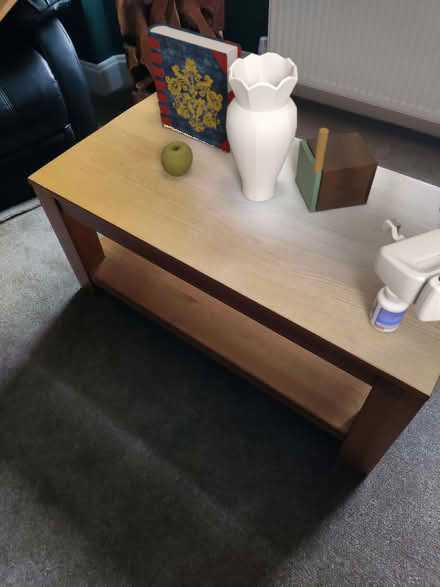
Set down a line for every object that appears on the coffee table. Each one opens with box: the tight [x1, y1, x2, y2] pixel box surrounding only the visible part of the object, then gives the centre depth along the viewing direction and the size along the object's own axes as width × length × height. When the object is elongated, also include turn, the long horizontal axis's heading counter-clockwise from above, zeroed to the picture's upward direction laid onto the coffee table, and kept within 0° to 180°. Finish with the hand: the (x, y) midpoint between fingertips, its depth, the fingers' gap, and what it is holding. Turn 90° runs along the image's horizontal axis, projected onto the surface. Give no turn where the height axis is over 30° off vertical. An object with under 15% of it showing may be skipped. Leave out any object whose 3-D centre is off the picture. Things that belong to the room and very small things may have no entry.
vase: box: [226, 51, 299, 203], centre depth 92 cm, size 15×15×29 cm
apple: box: [160, 141, 194, 177], centre depth 106 cm, size 8×8×7 cm
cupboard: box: [305, 131, 379, 212], centre depth 97 cm, size 12×12×11 cm
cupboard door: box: [294, 127, 330, 213], centre depth 93 cm, size 2×12×20 cm, turn 10°
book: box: [146, 22, 242, 154], centre depth 109 cm, size 25×7×25 cm, turn 53°
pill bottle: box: [369, 285, 410, 333], centre depth 75 cm, size 5×5×10 cm
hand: (416, 213), depth 60 cm, fingers open, 8 cm apart
